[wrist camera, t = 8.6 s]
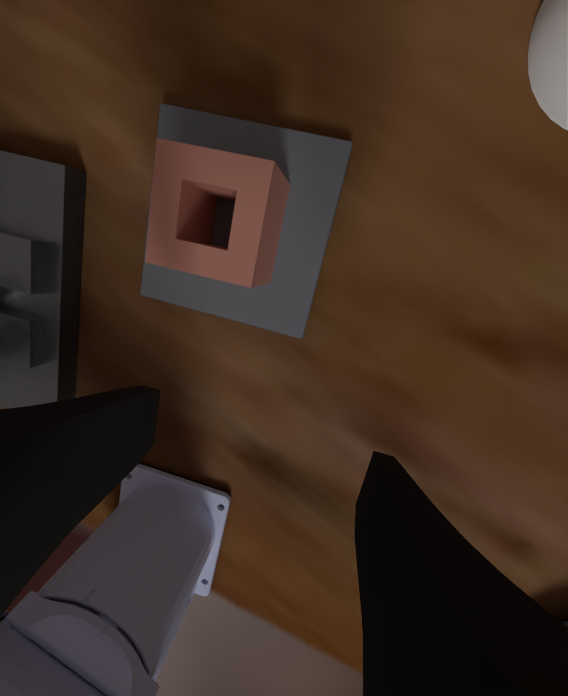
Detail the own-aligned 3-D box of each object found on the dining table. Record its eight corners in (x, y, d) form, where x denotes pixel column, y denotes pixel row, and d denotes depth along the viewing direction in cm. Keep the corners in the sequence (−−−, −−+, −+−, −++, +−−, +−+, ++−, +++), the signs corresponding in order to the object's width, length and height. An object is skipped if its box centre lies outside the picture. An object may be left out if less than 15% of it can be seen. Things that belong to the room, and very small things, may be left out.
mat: (303, 336, 19) (301, 338, 18) (146, 293, 20) (140, 294, 19) (352, 146, 16) (352, 141, 15) (166, 108, 17) (160, 102, 17)
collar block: (270, 282, 18) (250, 288, 14) (186, 262, 18) (145, 262, 15) (290, 184, 16) (274, 160, 13) (198, 166, 17) (156, 137, 13)
